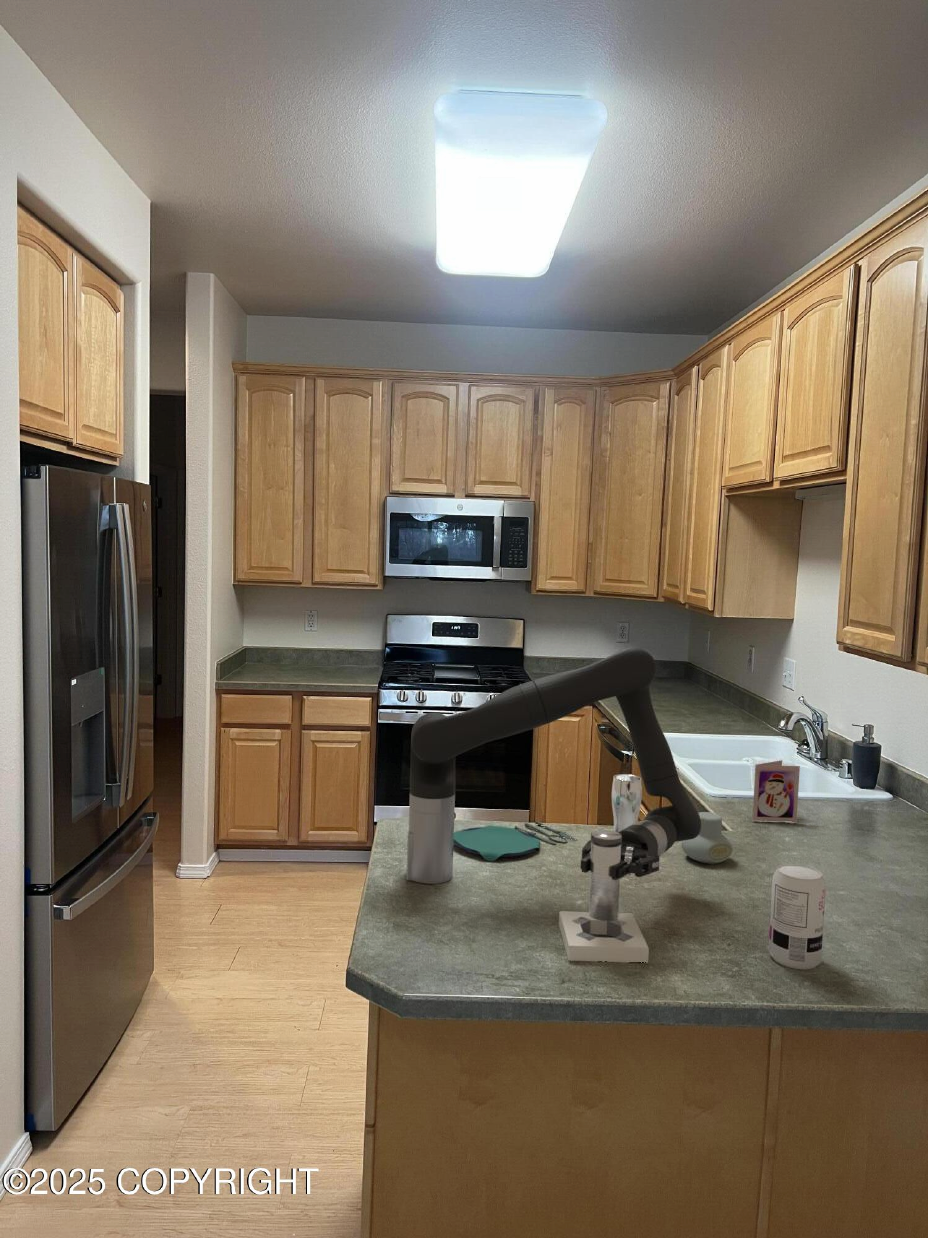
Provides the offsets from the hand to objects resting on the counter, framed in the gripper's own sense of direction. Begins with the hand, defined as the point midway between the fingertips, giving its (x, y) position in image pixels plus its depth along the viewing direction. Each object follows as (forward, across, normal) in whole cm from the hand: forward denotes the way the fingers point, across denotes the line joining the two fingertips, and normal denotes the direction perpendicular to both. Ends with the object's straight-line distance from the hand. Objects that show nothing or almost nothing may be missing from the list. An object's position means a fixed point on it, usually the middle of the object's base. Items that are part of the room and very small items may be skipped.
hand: (598, 870), depth 145 cm
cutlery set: (-38, -40, +14) cm, 57 cm away
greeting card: (-99, +2, +14) cm, 100 cm away
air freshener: (-57, -1, +14) cm, 58 cm away
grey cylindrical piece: (-3, 0, +8) cm, 9 cm away
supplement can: (-17, +28, +14) cm, 36 cm away
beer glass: (-57, -21, +14) cm, 63 cm away
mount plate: (-2, 0, +13) cm, 14 cm away
